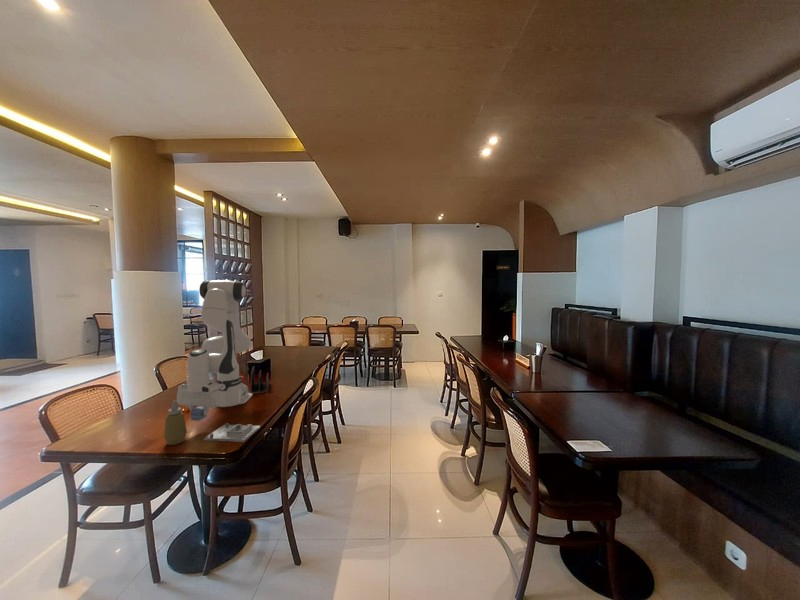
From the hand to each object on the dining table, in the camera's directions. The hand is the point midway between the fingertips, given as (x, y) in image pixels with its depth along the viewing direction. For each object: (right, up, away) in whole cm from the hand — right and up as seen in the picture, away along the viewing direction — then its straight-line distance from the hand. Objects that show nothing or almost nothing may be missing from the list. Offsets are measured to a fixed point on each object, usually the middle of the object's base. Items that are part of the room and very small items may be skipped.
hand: (199, 414), depth 152 cm
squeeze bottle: (-3, -8, -11) cm, 14 cm away
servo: (0, -2, 0) cm, 2 cm away
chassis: (+17, -8, -3) cm, 19 cm away
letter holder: (+2, -5, +63) cm, 63 cm away
